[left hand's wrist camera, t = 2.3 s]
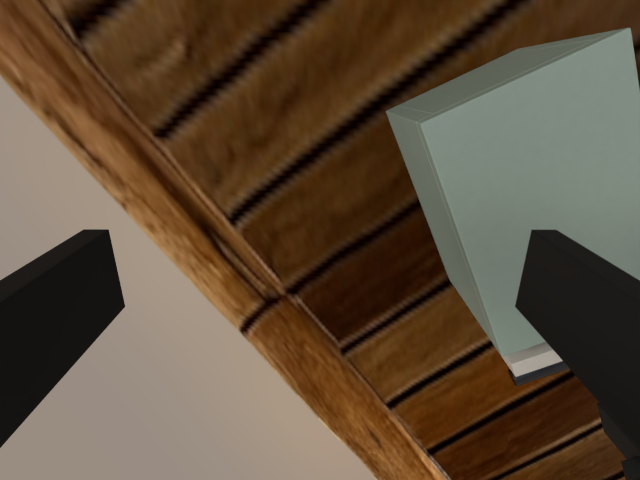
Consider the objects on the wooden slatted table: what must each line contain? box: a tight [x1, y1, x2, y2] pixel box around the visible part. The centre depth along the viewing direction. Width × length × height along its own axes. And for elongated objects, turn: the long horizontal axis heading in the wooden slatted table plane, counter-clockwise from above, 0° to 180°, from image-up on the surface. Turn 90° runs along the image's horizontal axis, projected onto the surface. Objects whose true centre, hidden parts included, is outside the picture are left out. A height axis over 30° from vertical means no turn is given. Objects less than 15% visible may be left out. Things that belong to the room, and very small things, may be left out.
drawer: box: [502, 342, 569, 386], centre depth 29 cm, size 21×9×9 cm, turn 25°
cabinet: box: [386, 28, 640, 357], centre depth 27 cm, size 16×10×11 cm, turn 25°
